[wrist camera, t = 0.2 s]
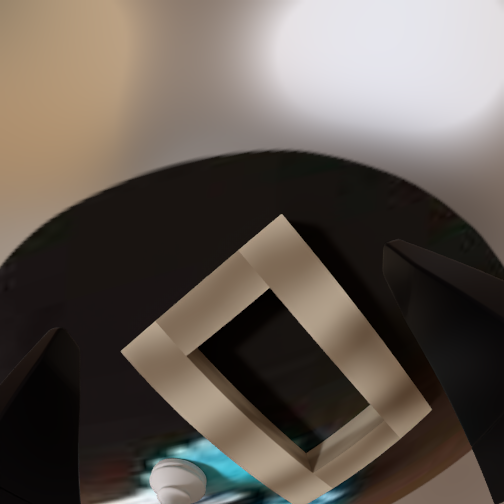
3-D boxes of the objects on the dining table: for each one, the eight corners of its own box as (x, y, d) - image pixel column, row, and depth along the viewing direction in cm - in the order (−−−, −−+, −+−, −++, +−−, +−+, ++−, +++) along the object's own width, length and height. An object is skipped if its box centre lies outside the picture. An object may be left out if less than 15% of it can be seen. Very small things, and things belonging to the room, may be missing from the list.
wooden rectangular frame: (415, 396, 23) (432, 409, 20) (294, 487, 23) (299, 508, 20) (276, 218, 22) (281, 213, 19) (134, 339, 22) (120, 351, 19)
